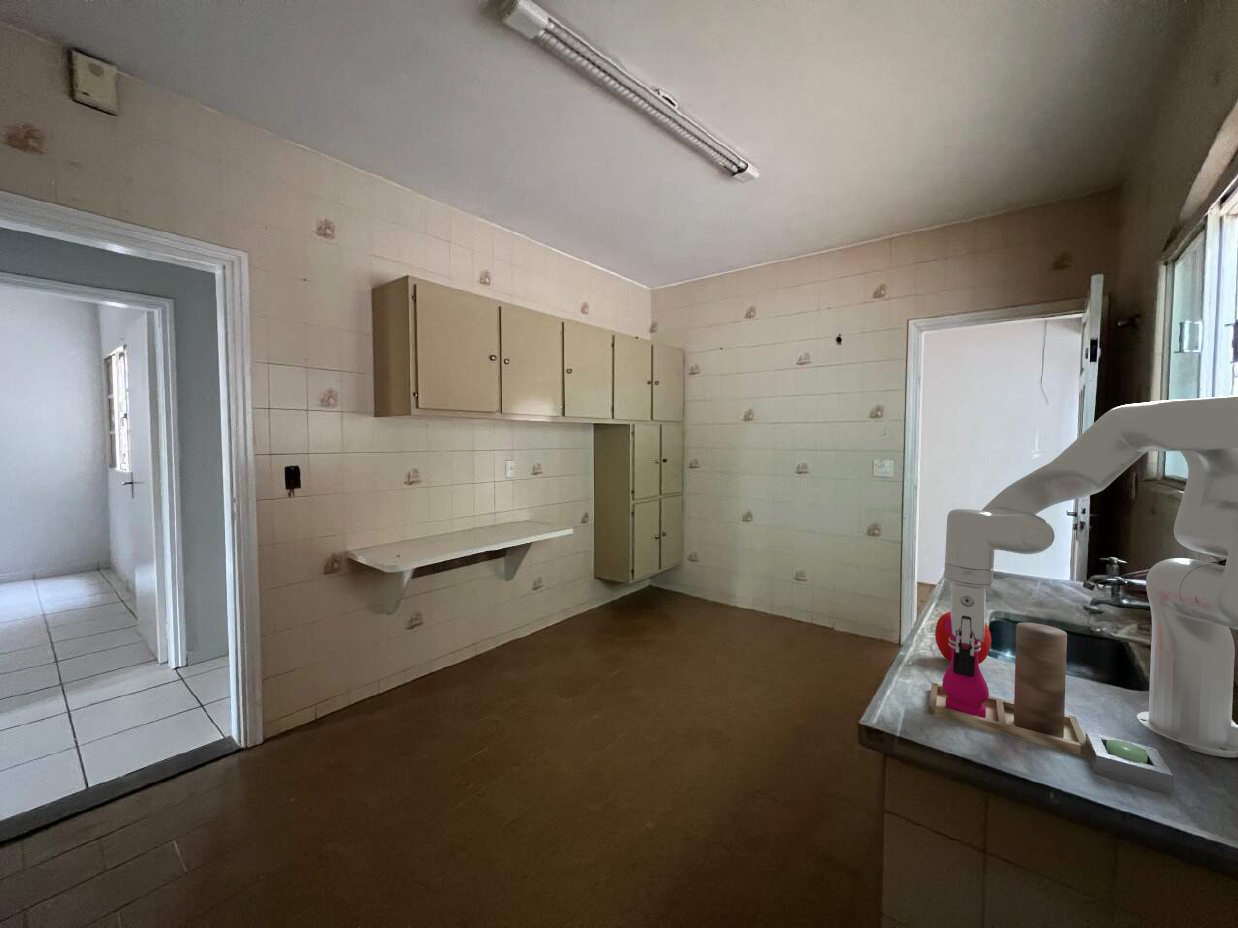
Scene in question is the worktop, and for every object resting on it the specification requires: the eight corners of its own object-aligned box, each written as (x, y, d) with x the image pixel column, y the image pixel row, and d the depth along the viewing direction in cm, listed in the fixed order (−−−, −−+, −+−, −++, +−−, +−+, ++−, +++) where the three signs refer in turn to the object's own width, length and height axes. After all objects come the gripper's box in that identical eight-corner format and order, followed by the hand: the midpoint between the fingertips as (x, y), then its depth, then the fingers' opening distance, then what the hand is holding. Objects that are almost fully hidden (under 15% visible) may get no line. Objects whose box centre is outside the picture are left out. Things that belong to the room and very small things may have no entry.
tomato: (933, 651, 123) (934, 601, 123) (986, 661, 118) (988, 608, 117) (935, 668, 113) (937, 614, 113) (994, 679, 108) (995, 622, 108)
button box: (1154, 773, 77) (1155, 748, 77) (1172, 802, 70) (1173, 775, 70) (1085, 754, 81) (1085, 730, 81) (1095, 780, 75) (1096, 755, 75)
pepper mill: (977, 704, 95) (975, 602, 95) (997, 723, 88) (995, 612, 88) (936, 701, 97) (934, 600, 97) (952, 719, 90) (951, 610, 90)
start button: (1141, 771, 76) (1142, 745, 76) (1150, 786, 73) (1151, 760, 73) (1102, 760, 79) (1103, 736, 79) (1109, 775, 75) (1110, 749, 75)
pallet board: (1075, 730, 88) (1075, 716, 88) (1088, 762, 79) (1089, 747, 79) (931, 694, 101) (932, 682, 101) (928, 718, 92) (928, 705, 92)
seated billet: (1060, 726, 88) (1063, 627, 87) (1066, 744, 82) (1070, 639, 82) (1012, 714, 92) (1014, 619, 91) (1015, 731, 86) (1018, 630, 86)
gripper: (995, 588, 83) (990, 692, 84) (990, 569, 97) (985, 658, 98) (943, 580, 87) (938, 679, 88) (945, 563, 102) (941, 649, 102)
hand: (963, 667), depth 93 cm, fingers open, 5 cm apart
